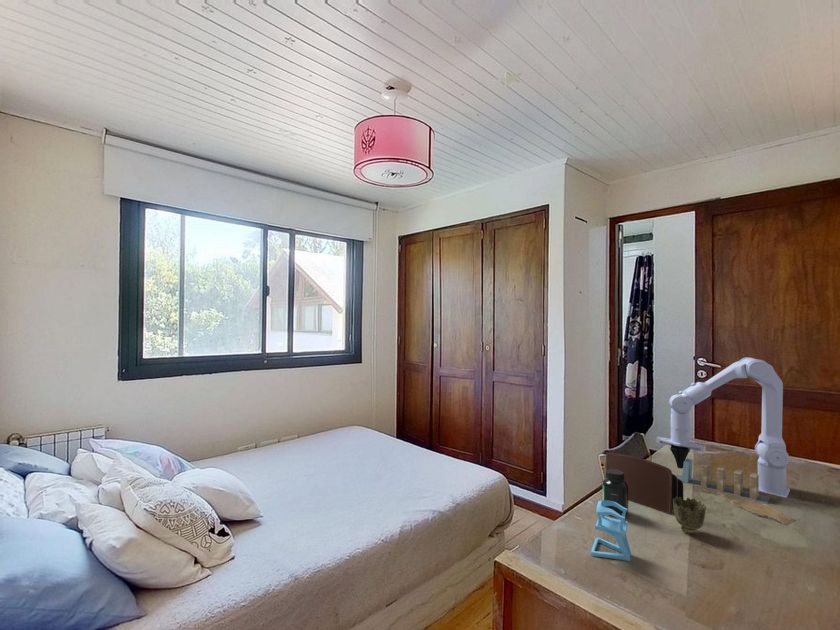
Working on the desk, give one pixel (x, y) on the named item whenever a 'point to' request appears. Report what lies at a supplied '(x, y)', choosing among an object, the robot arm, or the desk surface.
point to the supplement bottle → (615, 490)
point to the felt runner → (726, 490)
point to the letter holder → (647, 481)
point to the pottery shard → (763, 511)
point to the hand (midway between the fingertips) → (680, 467)
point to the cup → (689, 514)
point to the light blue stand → (612, 531)
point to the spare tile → (687, 470)
